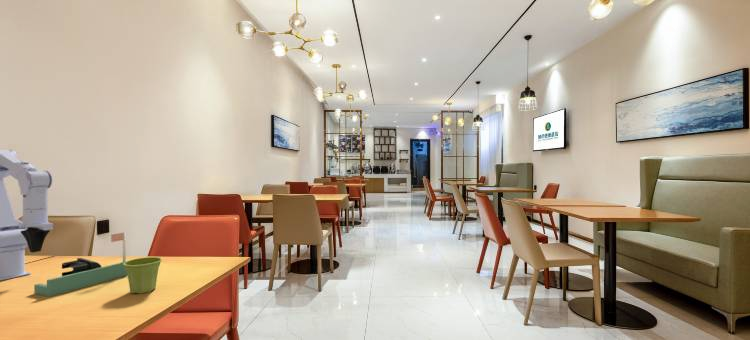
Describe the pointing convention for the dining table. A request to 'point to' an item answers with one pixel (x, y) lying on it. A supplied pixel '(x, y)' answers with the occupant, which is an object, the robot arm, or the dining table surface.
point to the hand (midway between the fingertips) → (35, 251)
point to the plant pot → (142, 274)
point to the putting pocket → (85, 275)
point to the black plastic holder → (79, 266)
